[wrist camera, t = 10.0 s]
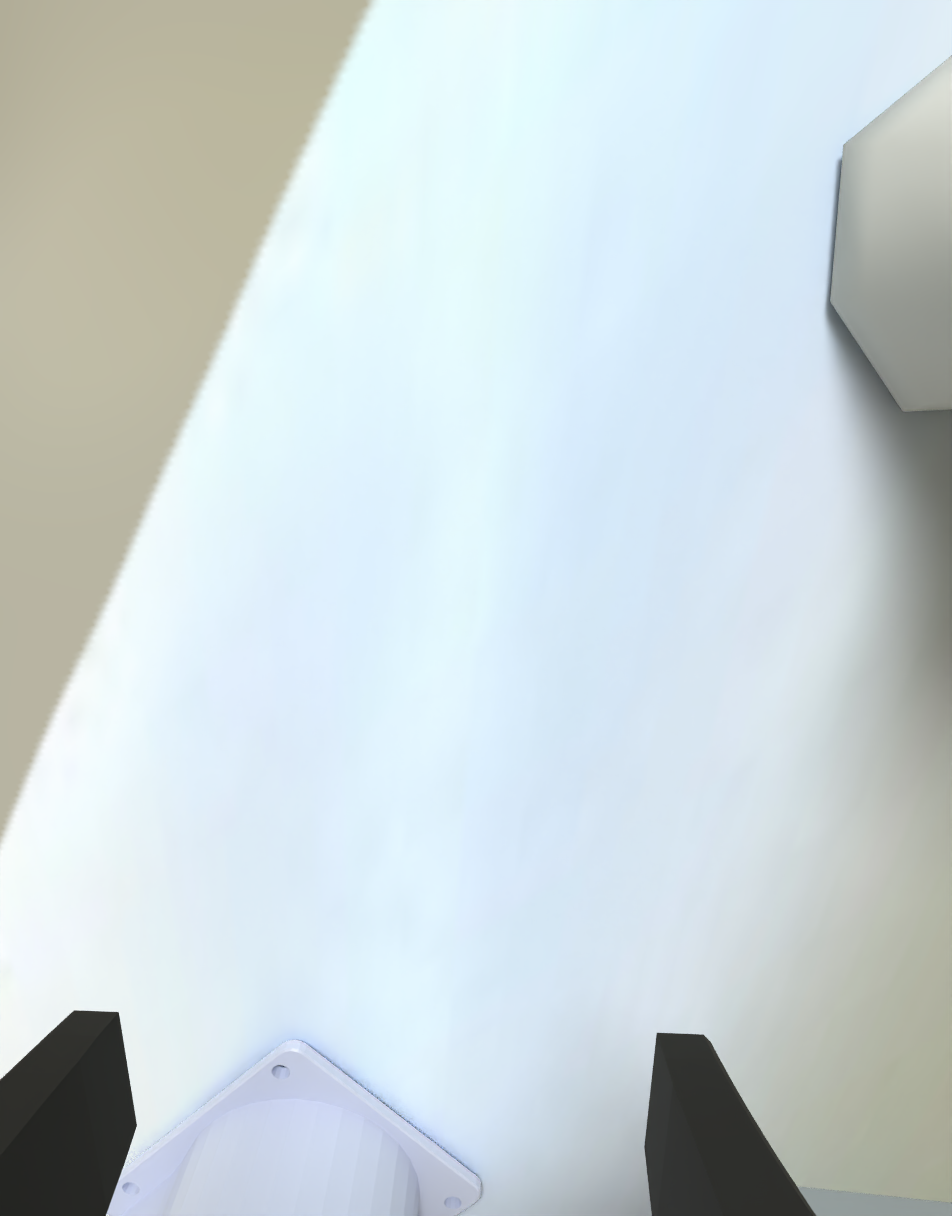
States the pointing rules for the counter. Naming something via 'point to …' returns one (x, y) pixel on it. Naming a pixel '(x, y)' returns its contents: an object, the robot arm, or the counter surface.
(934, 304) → the flask
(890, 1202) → the slate block
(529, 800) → the counter surface
